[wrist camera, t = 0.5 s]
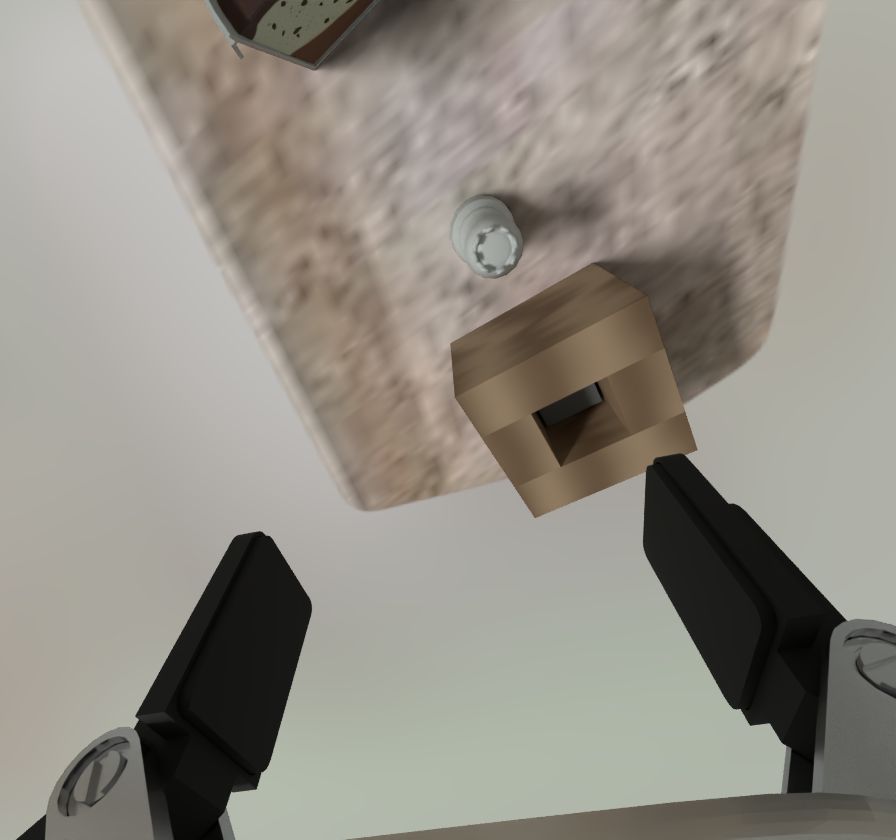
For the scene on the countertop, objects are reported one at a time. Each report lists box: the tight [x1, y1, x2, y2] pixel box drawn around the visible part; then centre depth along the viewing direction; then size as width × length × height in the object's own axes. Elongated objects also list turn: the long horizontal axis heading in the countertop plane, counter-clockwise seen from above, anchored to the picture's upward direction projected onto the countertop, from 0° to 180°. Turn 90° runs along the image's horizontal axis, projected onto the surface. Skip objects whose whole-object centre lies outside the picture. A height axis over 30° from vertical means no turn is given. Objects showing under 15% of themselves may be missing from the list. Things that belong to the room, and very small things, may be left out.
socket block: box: [451, 263, 697, 518], centre depth 30 cm, size 12×12×9 cm
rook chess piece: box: [450, 195, 523, 278], centre depth 25 cm, size 4×4×8 cm
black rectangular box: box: [539, 383, 602, 427], centre depth 31 cm, size 4×4×1 cm
